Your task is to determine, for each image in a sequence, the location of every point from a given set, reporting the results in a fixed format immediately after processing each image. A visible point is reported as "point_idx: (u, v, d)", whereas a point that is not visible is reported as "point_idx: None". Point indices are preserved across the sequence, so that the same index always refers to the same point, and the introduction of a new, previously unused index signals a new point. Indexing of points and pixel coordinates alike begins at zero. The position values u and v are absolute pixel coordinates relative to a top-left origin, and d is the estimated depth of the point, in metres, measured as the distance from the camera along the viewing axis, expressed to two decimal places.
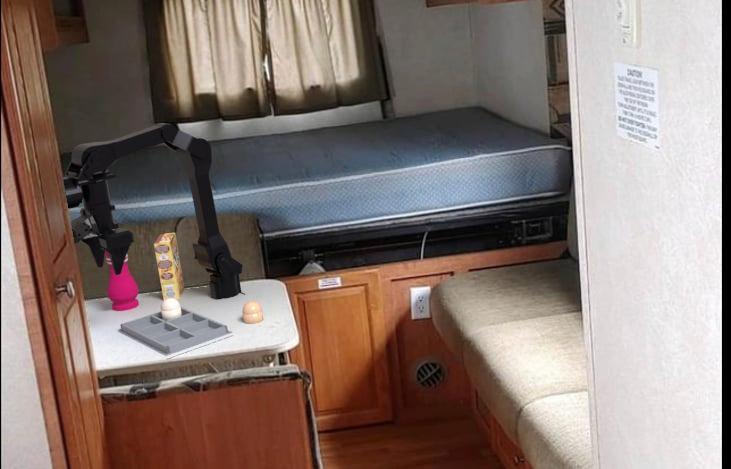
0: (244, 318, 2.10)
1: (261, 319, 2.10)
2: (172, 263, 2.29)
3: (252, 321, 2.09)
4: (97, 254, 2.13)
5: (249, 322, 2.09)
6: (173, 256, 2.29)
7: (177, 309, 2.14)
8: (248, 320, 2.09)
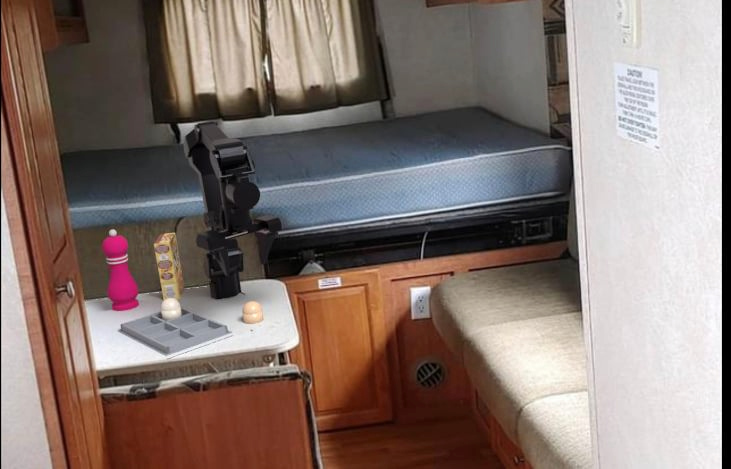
0: (244, 318, 2.10)
1: (261, 319, 2.10)
2: (172, 263, 2.29)
3: (252, 321, 2.09)
4: (261, 251, 2.10)
5: (249, 322, 2.09)
6: (173, 256, 2.29)
7: (177, 309, 2.14)
8: (248, 320, 2.09)
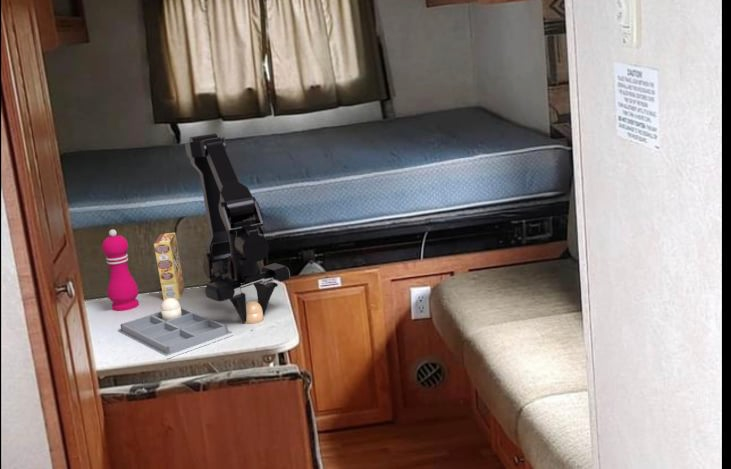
0: None
1: (261, 319, 2.10)
2: (172, 263, 2.29)
3: (252, 321, 2.09)
4: (261, 302, 2.12)
5: (249, 322, 2.09)
6: (173, 256, 2.29)
7: (177, 309, 2.14)
8: (248, 320, 2.09)
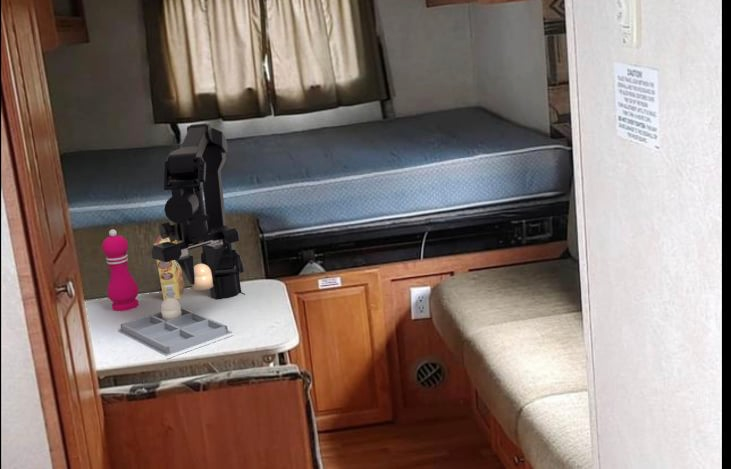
0: None
1: (210, 282, 2.05)
2: (172, 263, 2.29)
3: (201, 284, 2.04)
4: (210, 264, 2.07)
5: (198, 285, 2.04)
6: None
7: (177, 309, 2.14)
8: (197, 283, 2.04)
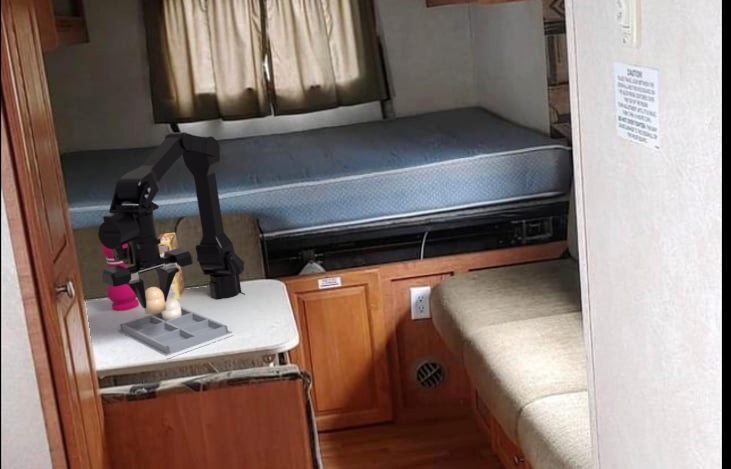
0: None
1: (162, 305, 2.04)
2: None
3: (152, 307, 2.03)
4: (162, 288, 2.06)
5: (149, 308, 2.03)
6: None
7: (177, 309, 2.14)
8: (148, 306, 2.03)
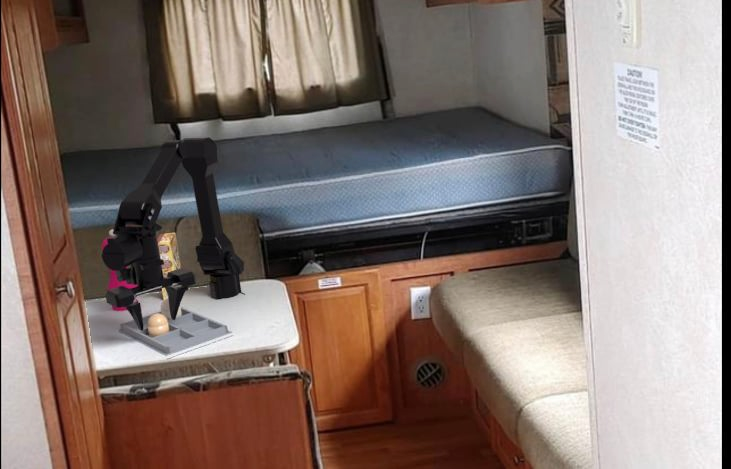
0: (149, 331, 2.05)
1: (167, 332, 2.06)
2: (172, 263, 2.29)
3: (157, 334, 2.04)
4: (172, 306, 2.08)
5: (154, 335, 2.05)
6: (173, 256, 2.29)
7: None
8: (153, 333, 2.05)
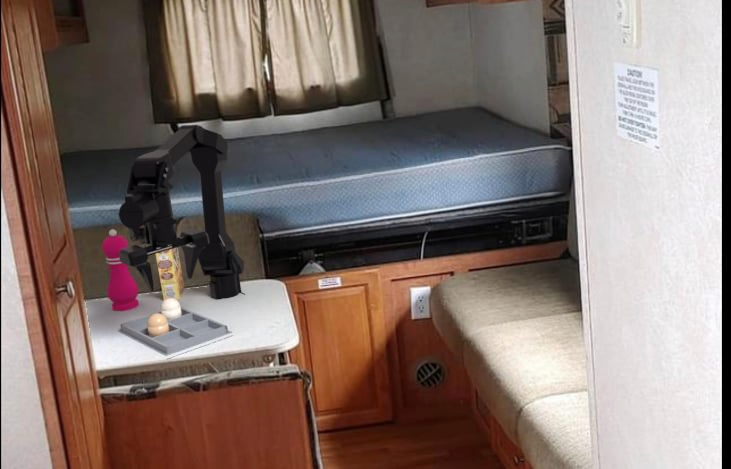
0: (149, 331, 2.05)
1: (167, 332, 2.06)
2: (172, 263, 2.29)
3: (156, 334, 2.04)
4: (188, 265, 2.08)
5: (153, 335, 2.05)
6: (173, 256, 2.29)
7: (177, 309, 2.14)
8: (152, 333, 2.05)
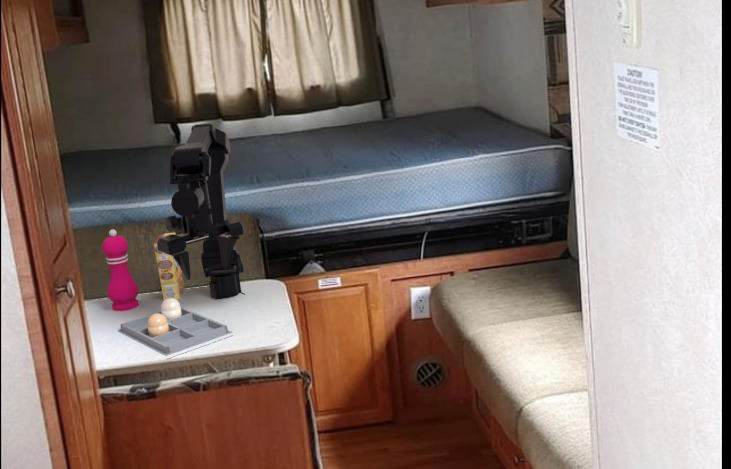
0: (149, 331, 2.05)
1: (166, 332, 2.06)
2: (172, 263, 2.29)
3: (156, 334, 2.04)
4: (223, 255, 2.12)
5: (153, 335, 2.05)
6: None
7: (177, 309, 2.14)
8: (152, 333, 2.05)
